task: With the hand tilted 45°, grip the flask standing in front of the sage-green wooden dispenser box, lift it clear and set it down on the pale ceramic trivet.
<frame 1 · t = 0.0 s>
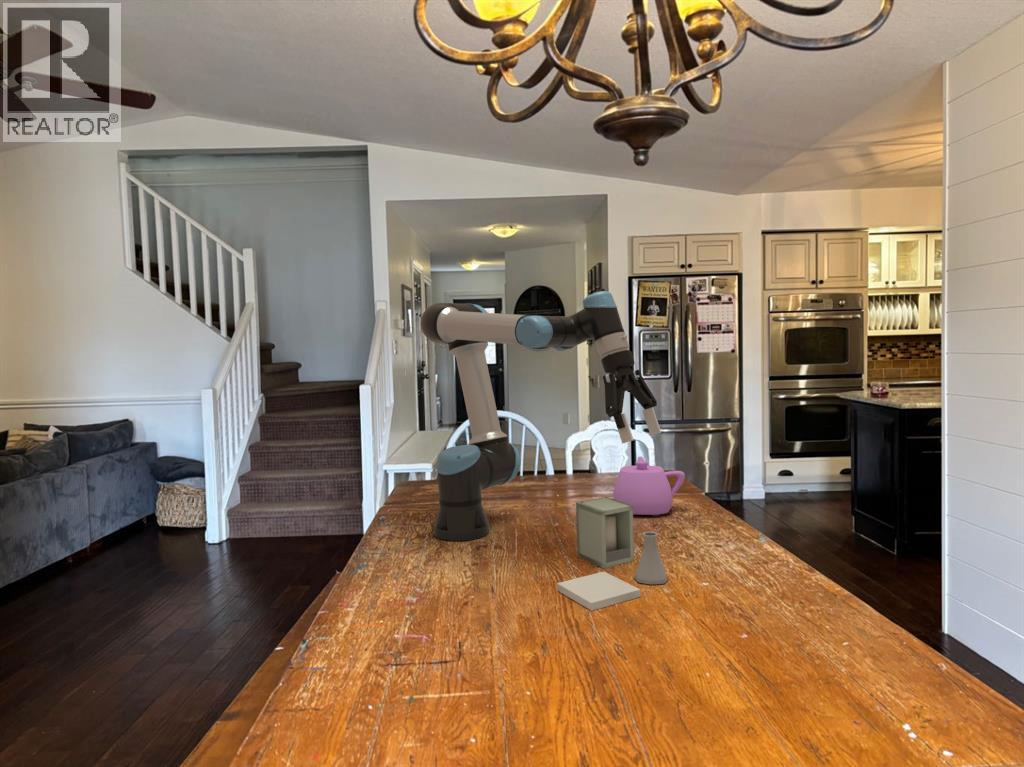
hand: (642, 438, 150), 28 cm above the table, tool tilted 20°, fingers open, 13 cm apart
trivet: (598, 593, 129), on the table
flask: (651, 580, 135), on the table
teapot: (642, 511, 190), on the table
dispenser box: (605, 558, 149), on the table
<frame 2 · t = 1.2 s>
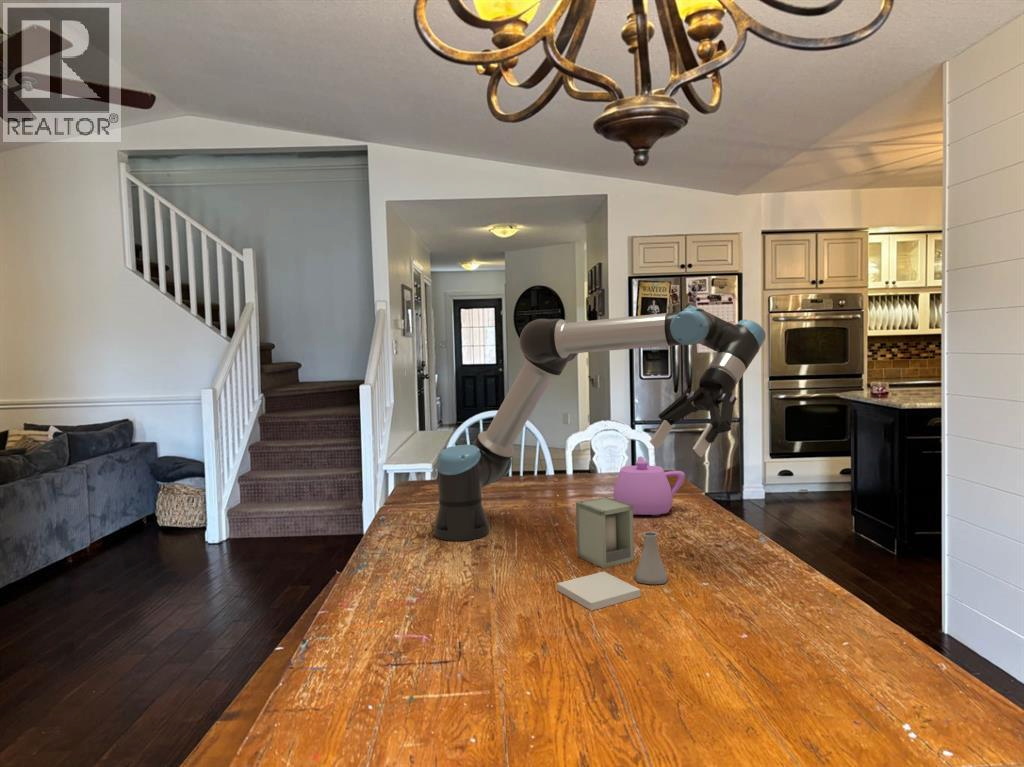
hand: (674, 449, 140), 27 cm above the table, tool tilted 45°, fingers open, 13 cm apart
nothing on the table moved.
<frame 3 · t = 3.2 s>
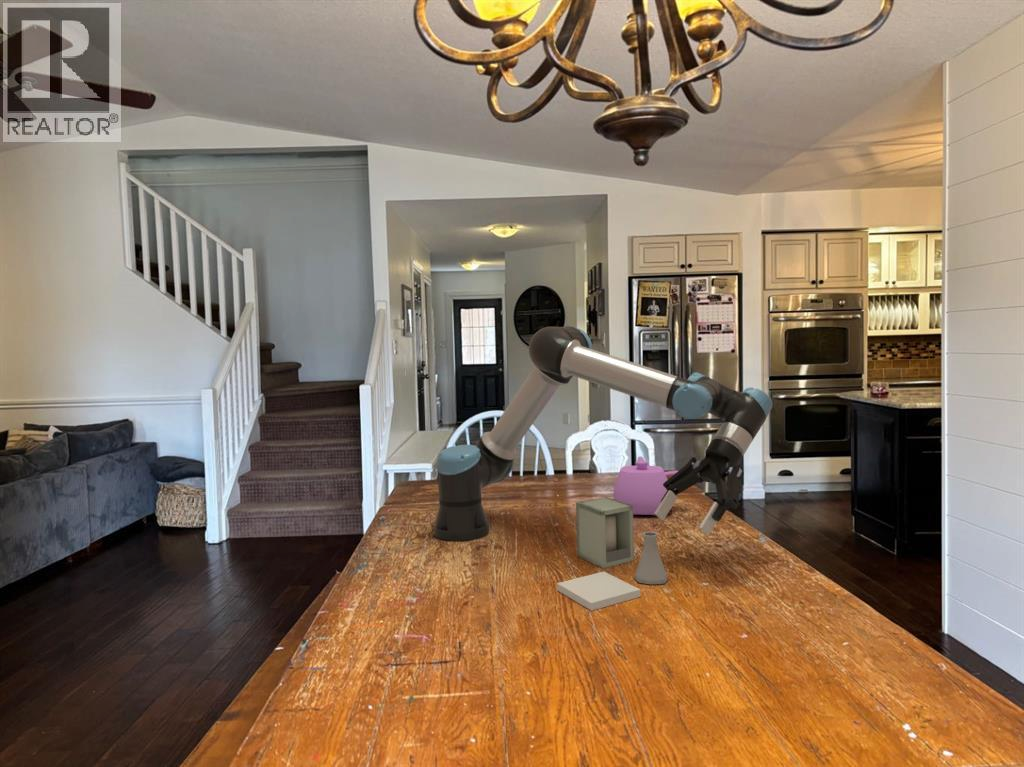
hand: (680, 524, 137), 11 cm above the table, tool tilted 45°, fingers open, 13 cm apart
nothing on the table moved.
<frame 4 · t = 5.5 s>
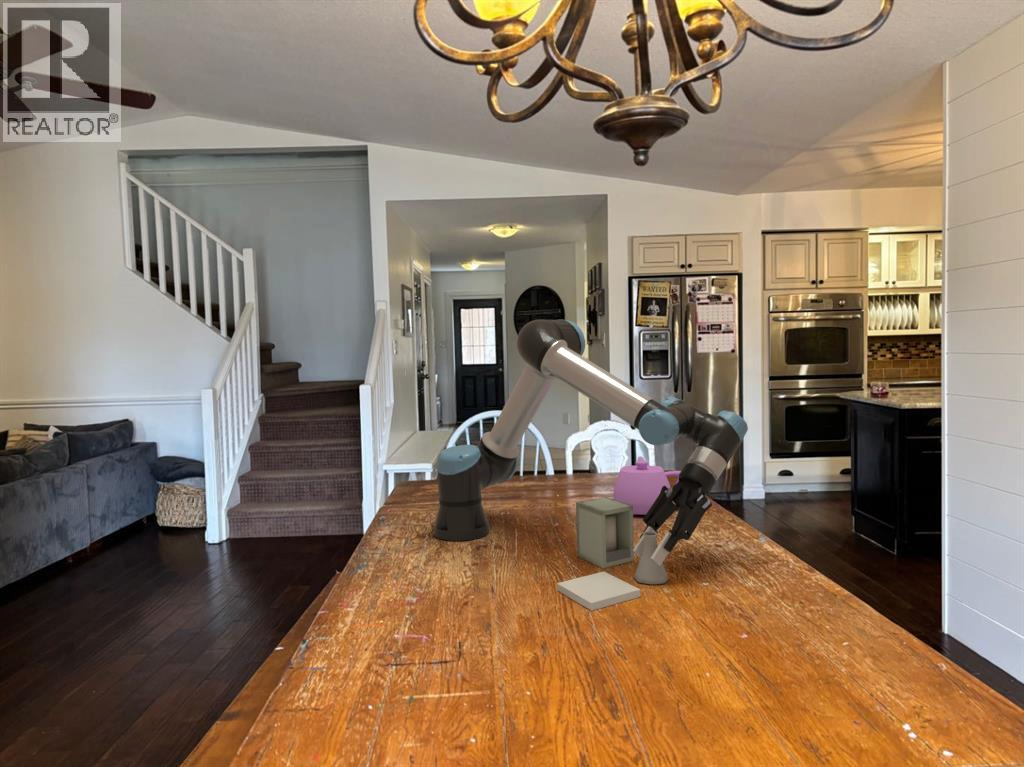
hand: (646, 558, 134), 5 cm above the table, tool tilted 45°, fingers closed on flask, 5 cm apart
flask: (651, 580, 135), on the table, touching gripper
everything else where it was.
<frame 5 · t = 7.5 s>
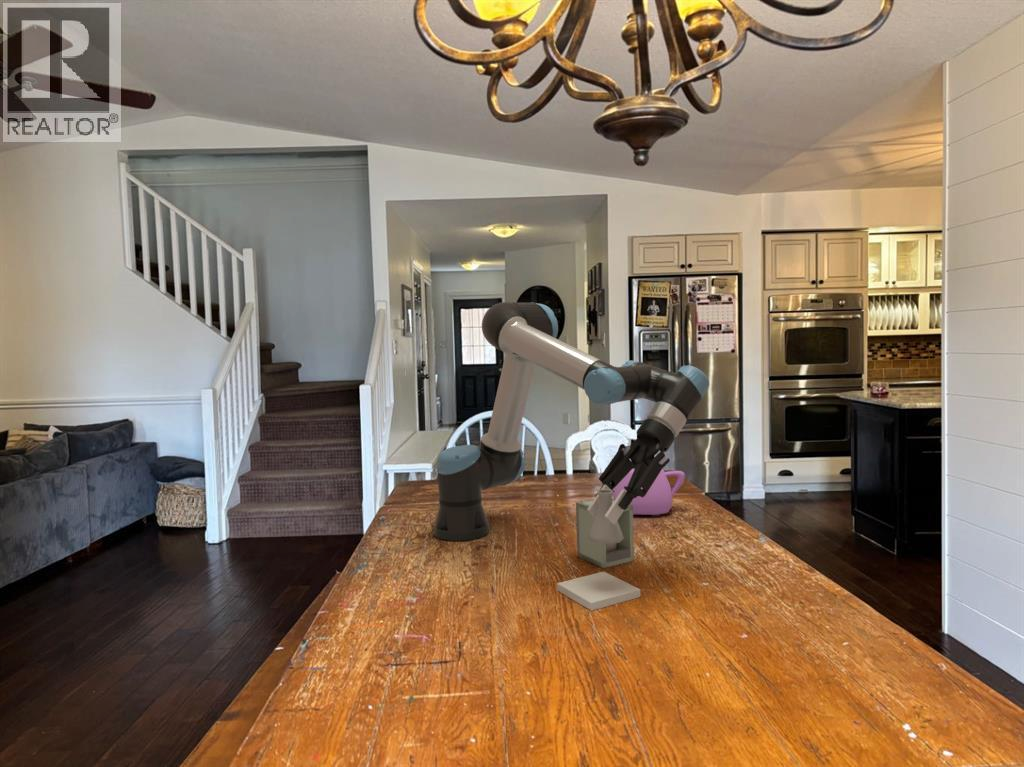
hand: (600, 516, 128), 16 cm above the table, tool tilted 45°, fingers closed on flask, 5 cm apart
flask: (606, 540, 129), point 11 cm above the table, touching gripper
everything else where it was.
when the fingers open (7 cm above the table, at t = 9.6 s): flask drops 1 cm, resting on trivet.
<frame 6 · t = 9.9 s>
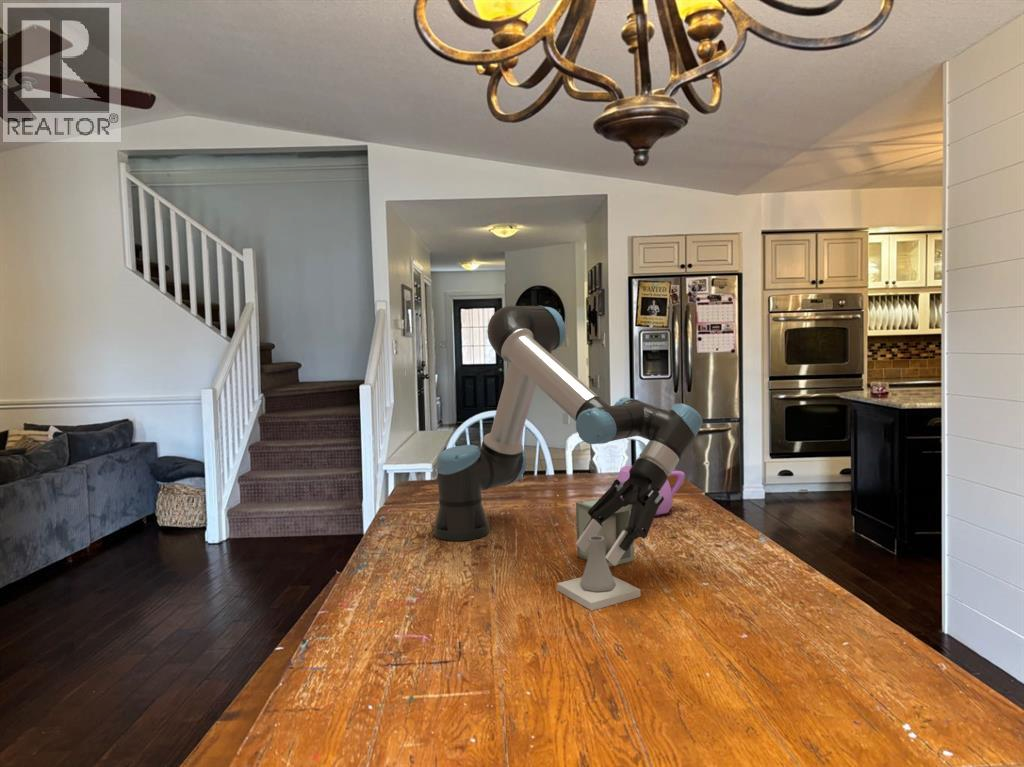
hand: (594, 554, 128), 8 cm above the table, tool tilted 45°, fingers open, 9 cm apart
flask: (597, 586, 129), point 1 cm above the table, touching trivet
everything else where it was.
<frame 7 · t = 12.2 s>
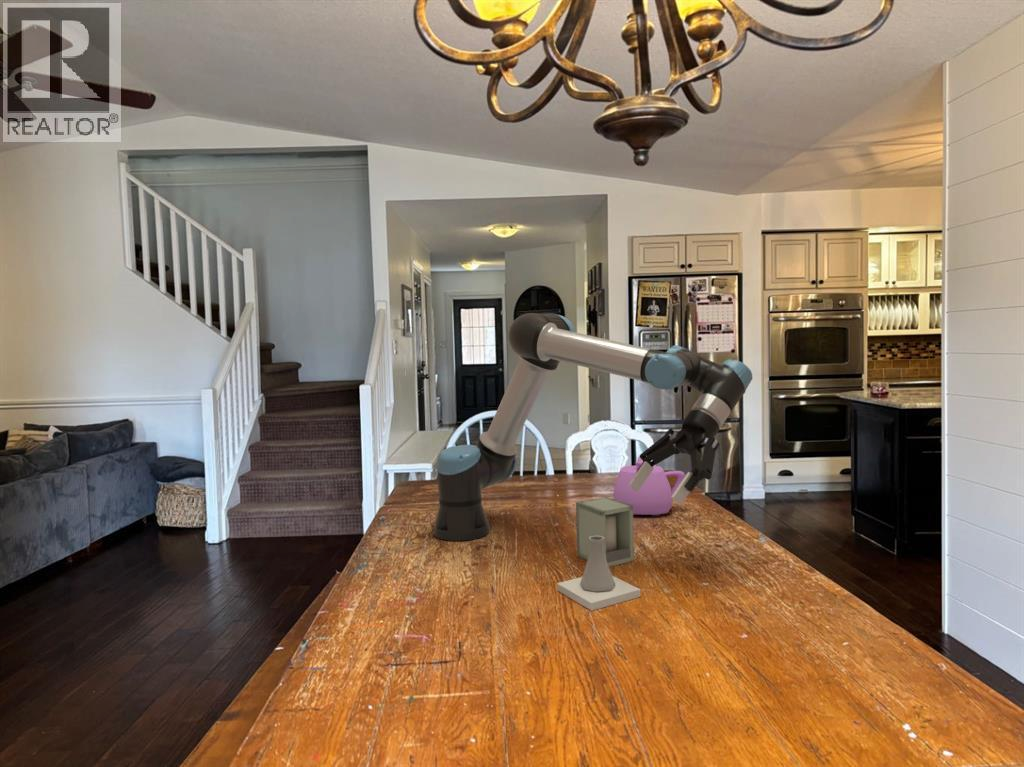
hand: (653, 494, 135), 18 cm above the table, tool tilted 45°, fingers open, 13 cm apart
nothing on the table moved.
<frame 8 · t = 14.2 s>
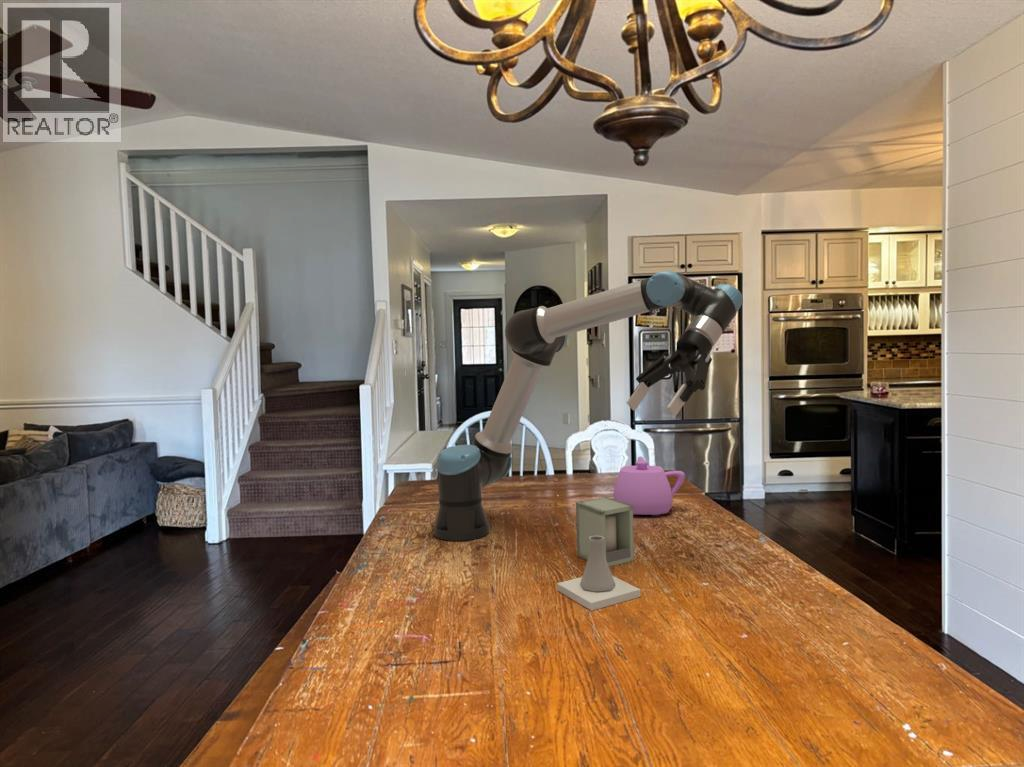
hand: (650, 409, 141), 36 cm above the table, tool tilted 45°, fingers open, 13 cm apart
nothing on the table moved.
at the end: flask inside the target area on the trivet (0.2 cm from its centre), point 1.3 cm above the trivet's base; flask tilted 0°; the gripper is holding nothing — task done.
